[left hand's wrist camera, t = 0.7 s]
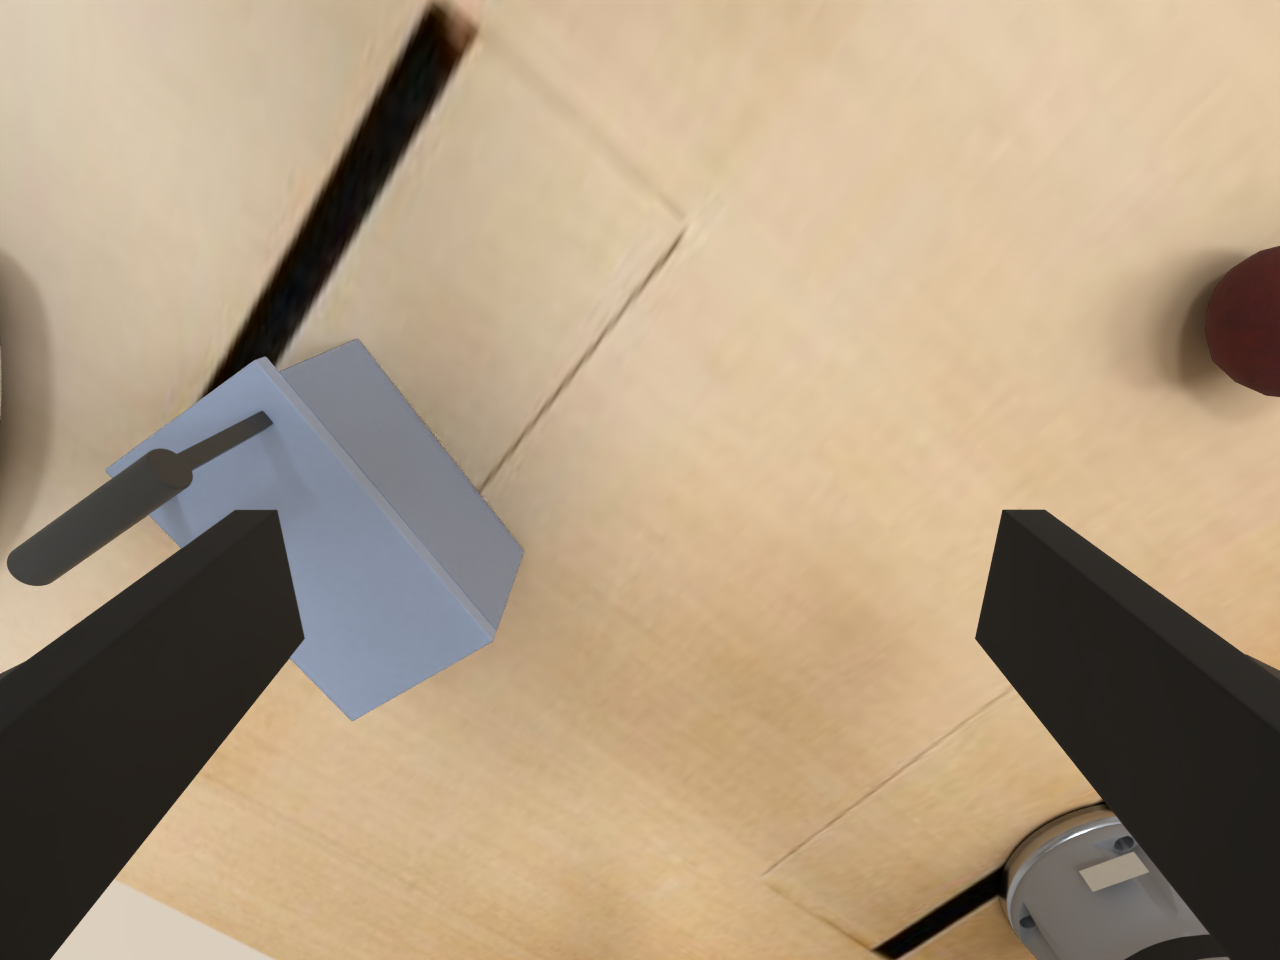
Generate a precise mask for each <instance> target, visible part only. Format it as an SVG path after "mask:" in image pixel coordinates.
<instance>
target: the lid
mask: <svg viewBox="0 0 1280 960" xmlns="http://www.w3.org/2000/svg"><path fill="white" fill-rule="evenodd" d="M105 471H106V472H107V473H108V474H109V475H110V476H111V477H112V479H111V480H109V481H108V482H107V483H105V484H104V485H102V486H101V487H100V488H98V489H97V490H96V491H94V492H93V493H91V494H90V495H89V496H87V497H86V498H85V499H83V500H82V501H80V502H79V503H78V504H76V505H75V506H74V507H72V508H71V509H69V510H68V511H67V512H65V513H64V514H63V515H61V516H60V517H58V518H57V519H56V520H54V521H53V522H52V523H50V524H49V525H47V526H46V527H45V528H43V529H42V530H41V531H39V532H38V533H36V534H35V535H34V536H32V537H31V538H30V539H28V540H27V541H25V542H24V543H23V544H21V545H20V546H19V547H17V548H16V549H14V550H13V551H12V552H11V553H10V554H9V556H8V559H7V567H8V569H9V571H10V573H11V574H12V575H13V576H14V577H15V578H16V579H17V580H19V581H20V582H22V583H25V584H28V585H32V586H42V585H47V584H50V583H52V582H53V581H55V580H56V579H58V578H59V577H60V576H62V575H63V574H65V573H66V572H68V571H69V570H70V569H72V568H73V567H75V566H76V565H78V564H79V563H80V562H82V561H83V560H85V559H86V558H88V557H89V556H90V555H92V554H93V553H95V552H96V551H97V550H99V549H100V548H102V547H103V546H105V545H106V544H107V543H109V542H110V541H112V540H113V539H115V538H116V537H117V536H119V535H120V534H122V533H123V532H125V531H126V530H127V529H129V528H130V527H132V526H133V525H135V524H136V523H137V522H139V521H140V520H142V519H143V518H145V517H146V516H147V515H149V516H150V517H151V518H152V519H153V520H154V521H155V522H156V523H157V524H158V525H159V526H160V527H161V528H162V529H163V530H164V531H165V532H166V533H167V534H168V535H169V536H170V537H171V538H172V539H173V540H174V541H175V542H176V543H177V544H178V545H179V546H180V547H181V548H183V547H184V546H186V545H187V544H189V543H190V542H191V541H193V540H194V539H195V538H197V537H198V536H200V535H201V534H202V533H204V532H205V531H206V530H208V529H209V528H211V527H212V526H213V525H215V524H216V523H218V522H219V521H220V520H222V519H223V518H224V517H226V516H227V515H229V514H230V513H231V512H233V511H234V510H278V515H279V520H280V524H281V529H282V534H283V538H284V543H285V548H286V552H287V557H288V562H289V567H290V571H291V576H292V581H293V585H294V590H295V595H296V599H297V604H298V609H299V613H300V618H301V623H302V628H303V632H304V637H305V639H304V640H303V642H302V643H301V644H300V645H299V647H298V648H297V649H296V651H295V652H294V653H293V654H292V656H291V657H290V659H291V660H292V661H293V662H294V663H295V664H296V665H297V666H298V667H299V668H300V669H301V670H302V671H303V672H304V673H305V674H306V675H307V676H308V677H309V678H310V679H311V680H312V681H313V682H314V683H315V684H316V685H317V686H318V687H319V688H320V689H321V690H322V691H323V693H324V694H325V695H326V696H327V697H328V698H329V699H330V700H331V701H332V702H333V703H334V704H335V705H336V706H337V707H338V708H339V709H340V710H341V711H342V712H343V713H344V714H345V715H346V716H347V717H348V718H349V719H350V720H351V721H354V720H355V719H357V718H359V717H361V716H363V715H364V714H366V713H368V712H370V711H371V710H373V709H375V708H377V707H378V706H380V705H382V704H384V703H385V702H387V701H389V700H391V699H392V698H394V697H396V696H398V695H399V694H401V693H403V692H405V691H407V690H408V689H410V688H412V687H414V686H415V685H417V684H419V683H421V682H422V681H424V680H426V679H428V678H429V677H431V676H433V675H435V674H436V673H438V672H440V671H442V670H444V669H445V668H447V667H449V666H451V665H452V664H454V663H456V662H458V661H459V660H461V659H463V658H465V657H466V656H468V655H470V654H472V653H473V652H475V651H477V650H479V649H480V648H482V647H484V646H486V645H488V644H489V643H491V642H492V641H493V639H494V637H495V634H496V630H495V629H494V628H493V627H492V625H491V624H490V623H489V622H488V621H487V619H486V618H485V617H484V616H483V615H482V613H481V612H480V611H479V610H478V609H477V607H476V606H475V605H474V604H473V603H472V602H471V600H470V599H469V598H468V597H467V596H466V594H465V593H464V592H463V591H462V590H461V588H460V587H459V586H458V585H457V584H456V582H455V581H454V580H453V579H452V578H451V577H450V575H449V574H448V573H447V572H446V571H445V569H444V568H443V567H442V566H441V565H440V563H439V562H438V561H437V560H436V559H435V557H434V556H433V555H432V554H431V553H430V551H429V550H428V549H427V548H426V547H425V546H424V544H423V543H422V542H421V541H420V540H419V538H418V537H417V536H416V535H415V534H414V532H413V531H412V530H411V529H410V528H409V526H408V525H407V524H406V523H405V522H404V521H403V519H402V518H401V517H400V516H399V515H398V513H397V512H396V511H395V510H394V509H393V507H392V506H391V505H390V504H389V503H388V501H387V500H386V499H385V498H384V497H383V495H382V494H381V493H380V492H379V491H378V490H377V488H376V487H375V486H374V485H373V484H372V482H371V481H370V480H369V479H368V478H367V476H366V475H365V474H364V473H363V472H362V470H361V469H360V468H359V467H358V466H357V465H356V463H355V462H354V461H353V460H352V459H351V457H350V456H349V455H348V454H347V453H346V451H345V450H344V449H343V448H342V447H341V445H340V444H339V443H338V442H337V441H336V439H335V438H334V437H333V436H332V435H331V434H330V432H329V431H328V430H327V429H326V428H325V426H324V425H323V424H322V423H321V422H320V420H319V419H318V418H317V417H316V416H315V414H314V413H313V412H312V411H311V410H310V409H309V407H308V406H307V405H306V404H305V403H304V401H303V400H302V399H301V398H300V397H299V395H298V394H297V393H296V392H295V391H294V389H293V388H292V387H291V386H290V385H289V383H288V382H287V381H286V380H285V379H284V378H283V376H282V375H281V374H280V373H279V372H278V370H277V369H276V368H275V367H274V366H273V364H272V363H271V362H270V361H269V360H268V358H267V357H262V358H260V359H257V360H254V361H253V362H251V363H250V364H249V365H247V366H246V367H245V368H243V369H242V370H241V371H239V372H238V373H236V374H235V375H234V376H232V377H231V378H230V379H228V380H227V381H225V382H224V383H223V384H221V385H220V386H219V387H217V388H216V389H215V390H213V391H212V392H210V393H209V394H208V395H206V396H205V397H204V398H202V399H201V400H200V401H198V402H197V403H195V404H194V405H193V406H191V407H190V408H189V409H187V410H186V411H185V412H183V413H182V414H180V415H179V416H178V417H176V418H175V419H174V420H172V421H171V422H170V423H168V424H167V425H165V426H164V427H163V428H161V429H160V430H159V431H157V432H156V433H155V434H153V435H152V436H150V437H149V438H148V439H146V440H145V441H144V442H142V443H141V444H139V445H138V446H137V447H135V448H134V449H133V450H131V451H130V452H129V453H127V454H126V455H124V456H123V457H122V458H120V459H119V460H118V461H116V462H115V463H114V464H112V465H111V466H109V467H108V468H107V469H106V470H105Z"/></svg>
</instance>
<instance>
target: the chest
mask: <svg viewBox="0 0 1280 960" xmlns="http://www.w3.org/2000/svg"><path fill="white" fill-rule="evenodd" d="M279 373H280V374H281V375H282V376H283V378H284V379H285V380H286V381H287V382H288V383H289V385H290V386H291V387H292V388H293V389H294V391H295V392H296V393H297V394H298V395H299V397H300V398H301V399H302V400H303V401H304V403H305V404H306V405H307V406H308V407H309V409H310V410H311V411H312V412H313V413H314V414H315V416H316V417H317V418H318V419H319V420H320V422H321V423H322V424H323V425H324V426H325V428H326V429H327V430H328V431H329V432H330V434H331V435H332V436H333V437H334V438H335V439H336V441H337V442H338V443H339V444H340V445H341V447H342V448H343V449H344V450H345V451H346V453H347V454H348V455H349V456H350V457H351V459H352V460H353V461H354V462H355V463H356V465H357V466H358V467H359V468H360V469H361V470H362V472H363V473H364V474H365V475H366V476H367V478H368V479H369V480H370V481H371V482H372V484H373V485H374V486H375V487H376V488H377V490H378V491H379V492H380V493H381V494H382V495H383V497H384V498H385V499H386V500H387V501H388V503H389V504H390V505H391V506H392V507H393V509H394V510H395V511H396V512H397V513H398V515H399V516H400V517H401V518H402V519H403V521H404V522H405V523H406V524H407V525H408V526H409V528H410V529H411V530H412V531H413V532H414V534H415V535H416V536H417V537H418V538H419V540H420V541H421V542H422V543H423V544H424V546H425V547H426V548H427V549H428V550H429V551H430V553H431V554H432V555H433V556H434V557H435V559H436V560H437V561H438V562H439V563H440V565H441V566H442V567H443V568H444V569H445V571H446V572H447V573H448V574H449V575H450V577H451V578H452V579H453V580H454V581H455V582H456V584H457V585H458V586H459V587H460V588H461V590H462V591H463V592H464V593H465V594H466V596H467V597H468V598H469V599H470V600H471V602H472V603H473V604H474V605H475V606H476V607H477V609H478V610H479V611H480V612H481V613H482V615H483V616H484V617H485V618H486V619H487V621H488V622H489V623H490V624H491V625H492V627H493V628H494V629H495V630H497V629H498V626H499V623H500V620H501V617H502V614H503V611H504V609H505V606H506V603H507V600H508V597H509V594H510V591H511V588H512V586H513V583H514V580H515V577H516V574H517V571H518V568H519V566H520V563H521V560H522V556H523V554H524V550H523V549H522V548H521V546H520V545H519V544H518V543H517V541H516V540H515V539H514V538H513V536H512V535H511V534H510V532H509V531H508V530H507V529H506V527H505V526H504V525H503V523H502V522H501V521H500V520H499V518H498V517H497V516H496V515H495V513H494V512H493V511H492V509H491V508H490V507H489V506H488V504H487V503H486V502H485V500H484V499H483V498H482V497H481V495H480V494H479V493H478V492H477V490H476V489H475V488H474V486H473V485H472V484H471V483H470V481H469V480H468V479H467V477H466V476H465V475H464V474H463V472H462V471H461V470H460V469H459V467H458V466H457V465H456V463H455V462H454V461H453V460H452V458H451V457H450V456H449V454H448V453H447V452H446V451H445V449H444V448H443V447H442V446H441V444H440V443H439V442H438V440H437V439H436V438H435V437H434V435H433V434H432V433H431V431H430V430H429V429H428V428H427V426H426V425H425V424H424V423H423V421H422V420H421V419H420V417H419V416H418V415H417V414H416V412H415V411H414V410H413V408H412V407H411V406H410V405H409V403H408V402H407V401H406V400H405V398H404V397H403V396H402V394H401V393H400V392H399V391H398V389H397V388H396V387H395V385H394V384H393V383H392V382H391V380H390V379H389V378H388V377H387V375H386V374H385V373H384V371H383V370H382V369H381V368H380V366H379V365H378V364H377V362H376V361H375V360H374V359H373V357H372V356H371V355H370V354H369V352H368V351H367V350H366V348H365V347H364V346H363V345H362V343H361V342H360V341H359V339H355V340H353V341H350V342H348V343H346V344H343V345H341V346H339V347H336V348H334V349H332V350H329V351H327V352H325V353H322V354H320V355H317V356H315V357H313V358H310V359H308V360H306V361H303V362H301V363H299V364H296V365H294V366H292V367H289V368H287V369H285V370H282V371H280V372H279Z"/></svg>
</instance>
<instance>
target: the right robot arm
mask: <svg viewBox="0 0 1280 960" xmlns="http://www.w3.org/2000/svg"><path fill="white" fill-rule="evenodd" d="M999 900H1000V903H1001V907H1002V909H1003V911H1004V913H1005V915H1006V917H1007V919H1008V921H1009V923H1010V925H1011V926H1012V928H1013V930H1014V932H1015V934H1016V935H1017V937H1018V938H1019V940H1020V941H1021V942H1022V943H1023V944H1024V945H1025V947H1026V948H1027V949H1028V950H1029V951H1030V952H1031V953H1032V954H1033V955H1034V956H1035V957H1036V958H1037V960H1230V959H1229V958H1228V957H1227V955H1226V954H1225V953H1224V951H1223V950H1222V949H1221V948H1220V946H1219V945H1218V944H1217V943H1216V941H1215V940H1214V939H1213V938H1212V936H1211V935H1210V934H1209V933H1208V931H1207V930H1206V929H1205V928H1204V926H1203V925H1202V924H1201V923H1200V921H1199V920H1198V919H1197V917H1196V916H1195V915H1194V914H1193V912H1192V911H1191V910H1190V909H1189V907H1188V906H1187V905H1186V904H1185V902H1184V901H1183V900H1182V899H1181V897H1180V896H1179V895H1178V894H1177V892H1176V891H1175V890H1174V889H1173V887H1172V886H1171V885H1170V883H1169V882H1168V881H1167V880H1166V878H1165V877H1164V876H1163V875H1162V873H1161V872H1160V871H1159V870H1158V868H1157V867H1156V866H1155V865H1154V863H1153V862H1152V861H1151V860H1150V858H1149V857H1148V856H1147V855H1146V853H1145V852H1144V851H1143V849H1142V848H1141V847H1140V846H1139V844H1138V843H1137V842H1136V841H1135V839H1134V838H1133V837H1132V836H1131V834H1130V833H1129V832H1128V831H1127V829H1126V828H1125V827H1124V826H1123V824H1122V823H1121V822H1120V821H1119V819H1118V818H1117V817H1116V815H1115V814H1114V813H1113V812H1112V810H1111V809H1110V808H1109V807H1108V805H1107V804H1102V805H1097V806H1092V807H1088V808H1084V809H1081V810H1078V811H1074V812H1072V813H1069V814H1066V815H1064V816H1062V817H1060V818H1058V819H1056V820H1054V821H1052V822H1050V823H1048V824H1046V825H1045V826H1043V827H1042V828H1040V829H1039V830H1037V831H1036V832H1034V833H1033V834H1032V835H1031V836H1029V837H1028V838H1027V839H1026V840H1025V841H1024V842H1023V843H1022V844H1021V845H1020V846H1019V847H1018V848H1017V849H1016V850H1015V851H1014V853H1013V854H1012V855H1011V857H1010V858H1009V860H1008V862H1007V863H1006V865H1005V867H1004V870H1003V872H1002V875H1001V878H1000V883H999Z"/></svg>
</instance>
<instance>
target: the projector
mask: <svg viewBox="0 0 1280 960" xmlns="http://www.w3.org/2000/svg"><path fill="white" fill-rule="evenodd" d="M1 396H2V388H1V348H0V418H1Z"/></svg>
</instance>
